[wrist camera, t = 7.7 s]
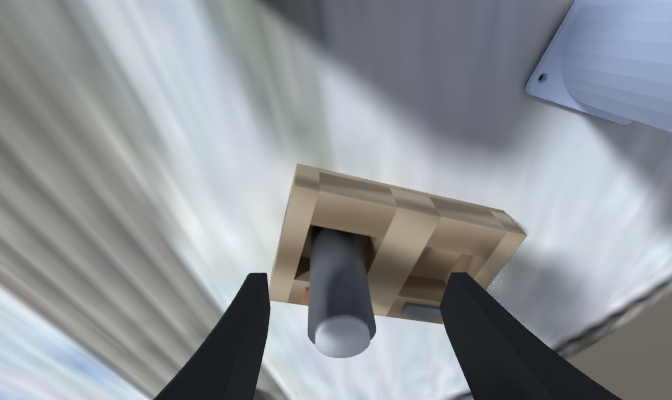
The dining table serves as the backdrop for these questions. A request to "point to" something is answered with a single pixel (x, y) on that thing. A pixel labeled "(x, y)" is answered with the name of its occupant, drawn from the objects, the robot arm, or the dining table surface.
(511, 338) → the robot arm
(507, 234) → the socket block
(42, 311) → the dining table surface
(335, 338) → the grey rounded cylinder
